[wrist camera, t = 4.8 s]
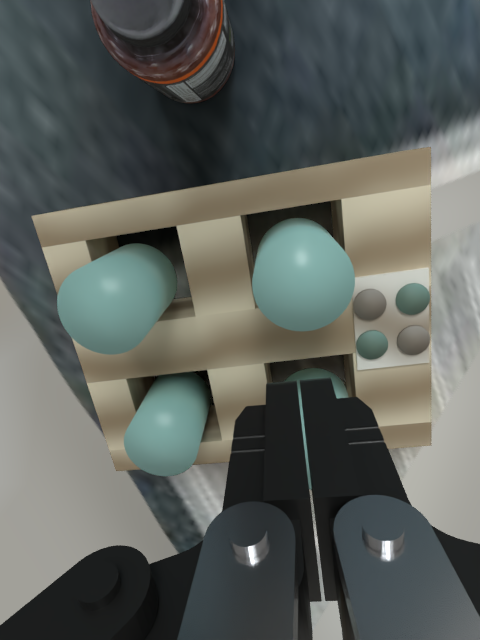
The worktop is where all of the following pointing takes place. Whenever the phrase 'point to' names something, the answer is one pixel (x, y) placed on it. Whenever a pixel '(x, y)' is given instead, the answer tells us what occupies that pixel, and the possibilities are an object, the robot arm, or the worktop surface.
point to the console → (242, 310)
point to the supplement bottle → (170, 43)
